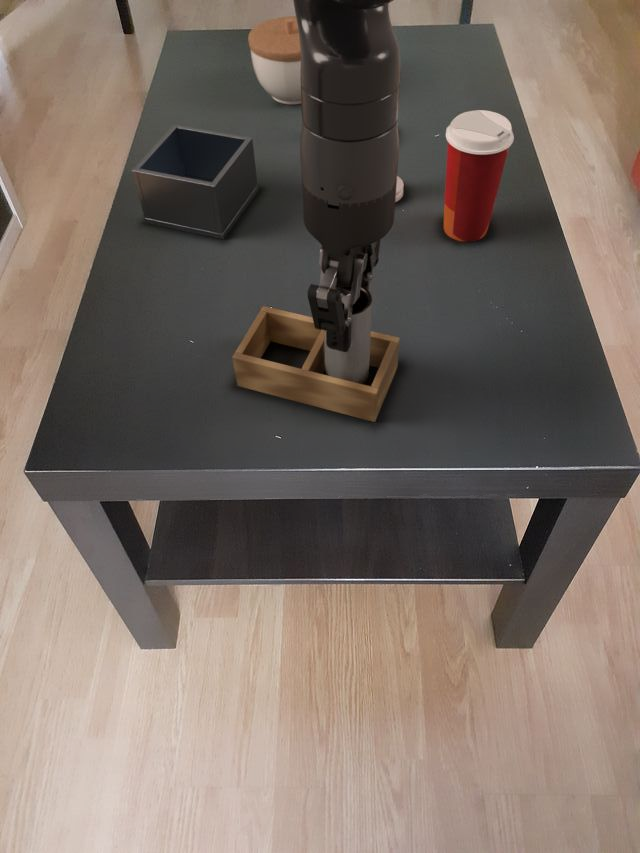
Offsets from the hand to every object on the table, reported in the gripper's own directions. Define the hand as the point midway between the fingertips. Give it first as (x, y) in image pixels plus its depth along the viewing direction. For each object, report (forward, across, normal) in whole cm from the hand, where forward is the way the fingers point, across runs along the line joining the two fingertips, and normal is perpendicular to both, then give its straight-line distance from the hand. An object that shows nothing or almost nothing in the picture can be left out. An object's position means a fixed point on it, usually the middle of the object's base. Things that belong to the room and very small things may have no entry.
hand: (347, 329), depth 69 cm
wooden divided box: (+8, 0, -3) cm, 9 cm away
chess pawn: (+8, -34, -6) cm, 36 cm away
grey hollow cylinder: (+7, 0, 0) cm, 7 cm away
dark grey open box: (+8, -24, -29) cm, 39 cm away
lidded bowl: (+8, -56, -28) cm, 64 cm away
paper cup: (+8, -30, +6) cm, 32 cm away
